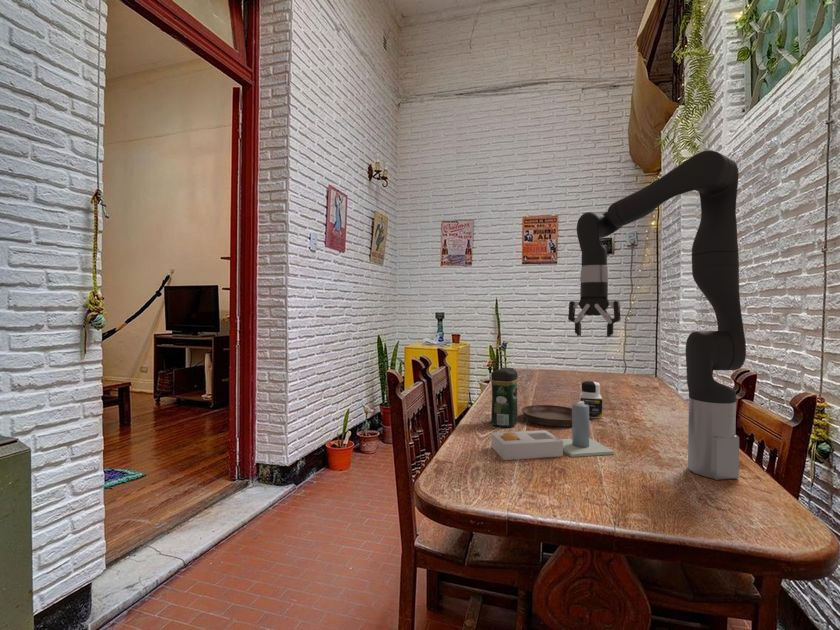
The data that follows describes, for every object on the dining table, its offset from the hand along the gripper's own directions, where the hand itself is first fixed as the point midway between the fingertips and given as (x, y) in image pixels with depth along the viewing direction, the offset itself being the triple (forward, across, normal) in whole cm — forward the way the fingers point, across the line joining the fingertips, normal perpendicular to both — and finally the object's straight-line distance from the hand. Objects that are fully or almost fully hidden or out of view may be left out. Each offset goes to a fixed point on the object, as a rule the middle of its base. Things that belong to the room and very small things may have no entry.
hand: (593, 336), depth 130 cm
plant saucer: (+31, +16, -12) cm, 37 cm away
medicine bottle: (+30, +7, -26) cm, 40 cm away
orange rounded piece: (+28, +14, +27) cm, 42 cm away
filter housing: (+30, +11, +24) cm, 40 cm away
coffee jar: (+30, +28, +2) cm, 41 cm away
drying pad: (+30, 0, +13) cm, 33 cm away
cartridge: (+29, 0, +13) cm, 32 cm away
